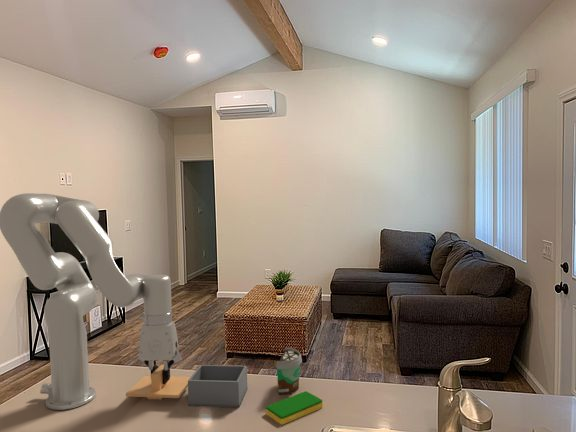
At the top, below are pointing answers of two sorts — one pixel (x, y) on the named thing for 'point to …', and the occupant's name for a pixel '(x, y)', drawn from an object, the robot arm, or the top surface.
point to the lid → (159, 386)
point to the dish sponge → (293, 407)
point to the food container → (288, 371)
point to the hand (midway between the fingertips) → (160, 381)
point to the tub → (217, 386)
